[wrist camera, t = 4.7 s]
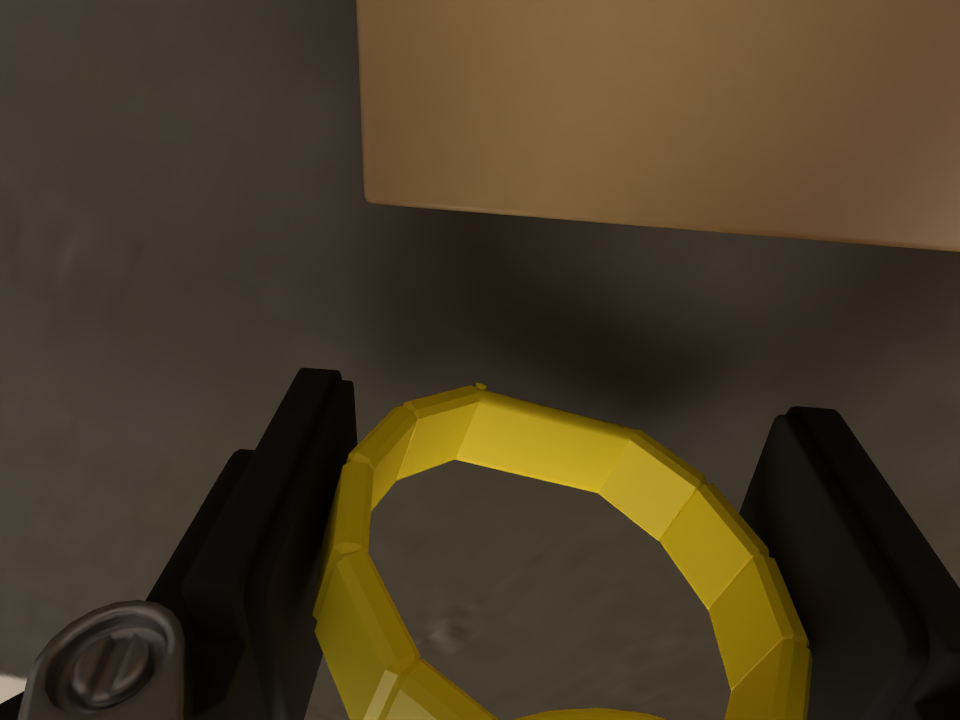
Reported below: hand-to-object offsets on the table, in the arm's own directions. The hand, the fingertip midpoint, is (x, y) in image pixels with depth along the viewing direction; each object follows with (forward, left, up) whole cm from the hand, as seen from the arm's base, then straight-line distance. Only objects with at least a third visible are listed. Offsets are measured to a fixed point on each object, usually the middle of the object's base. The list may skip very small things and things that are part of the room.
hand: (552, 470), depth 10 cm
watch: (0, 0, -1) cm, 1 cm away
